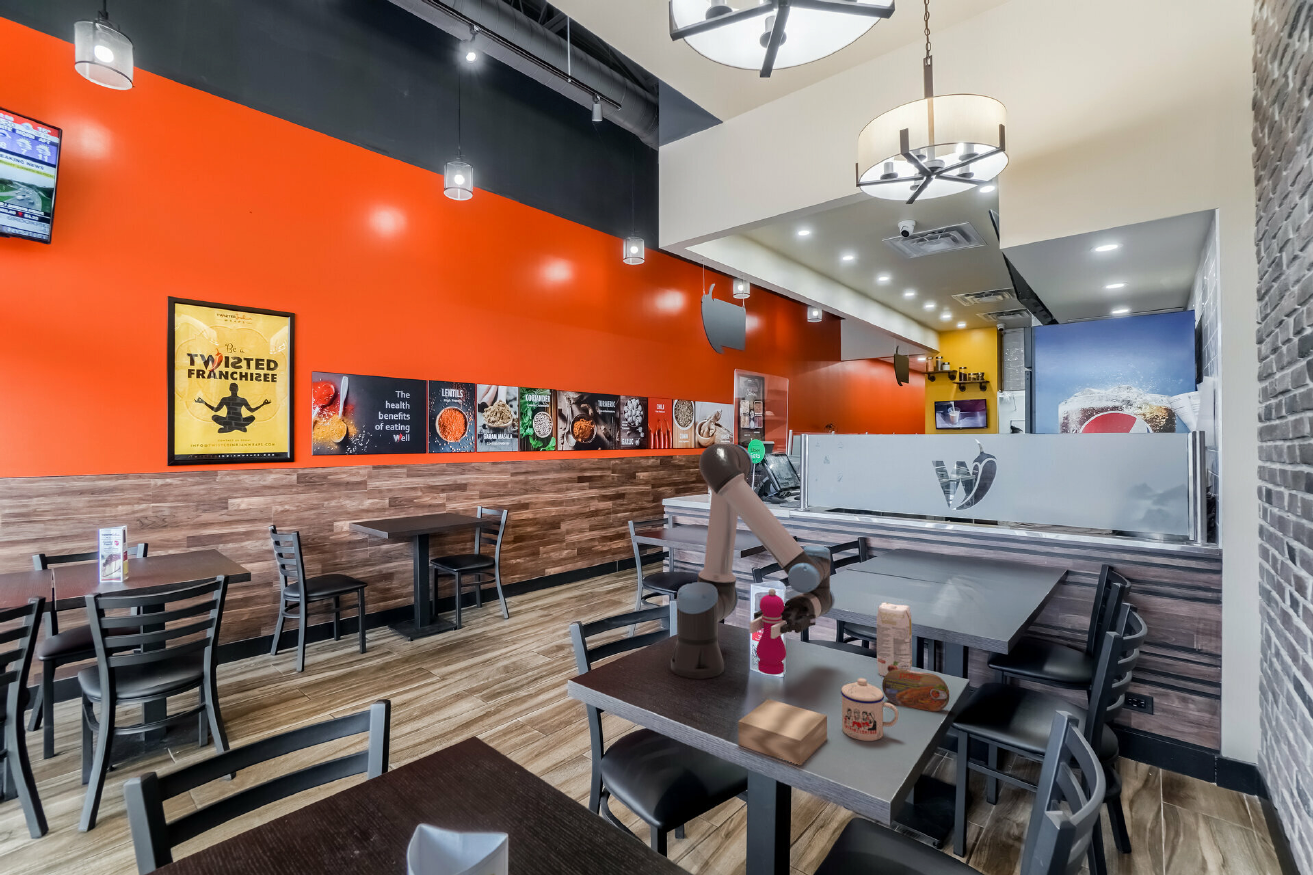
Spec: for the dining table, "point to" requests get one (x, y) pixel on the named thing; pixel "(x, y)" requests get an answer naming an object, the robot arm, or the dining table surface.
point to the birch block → (783, 731)
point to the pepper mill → (770, 648)
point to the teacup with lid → (864, 711)
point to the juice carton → (894, 638)
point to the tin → (916, 690)
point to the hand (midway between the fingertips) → (761, 630)
